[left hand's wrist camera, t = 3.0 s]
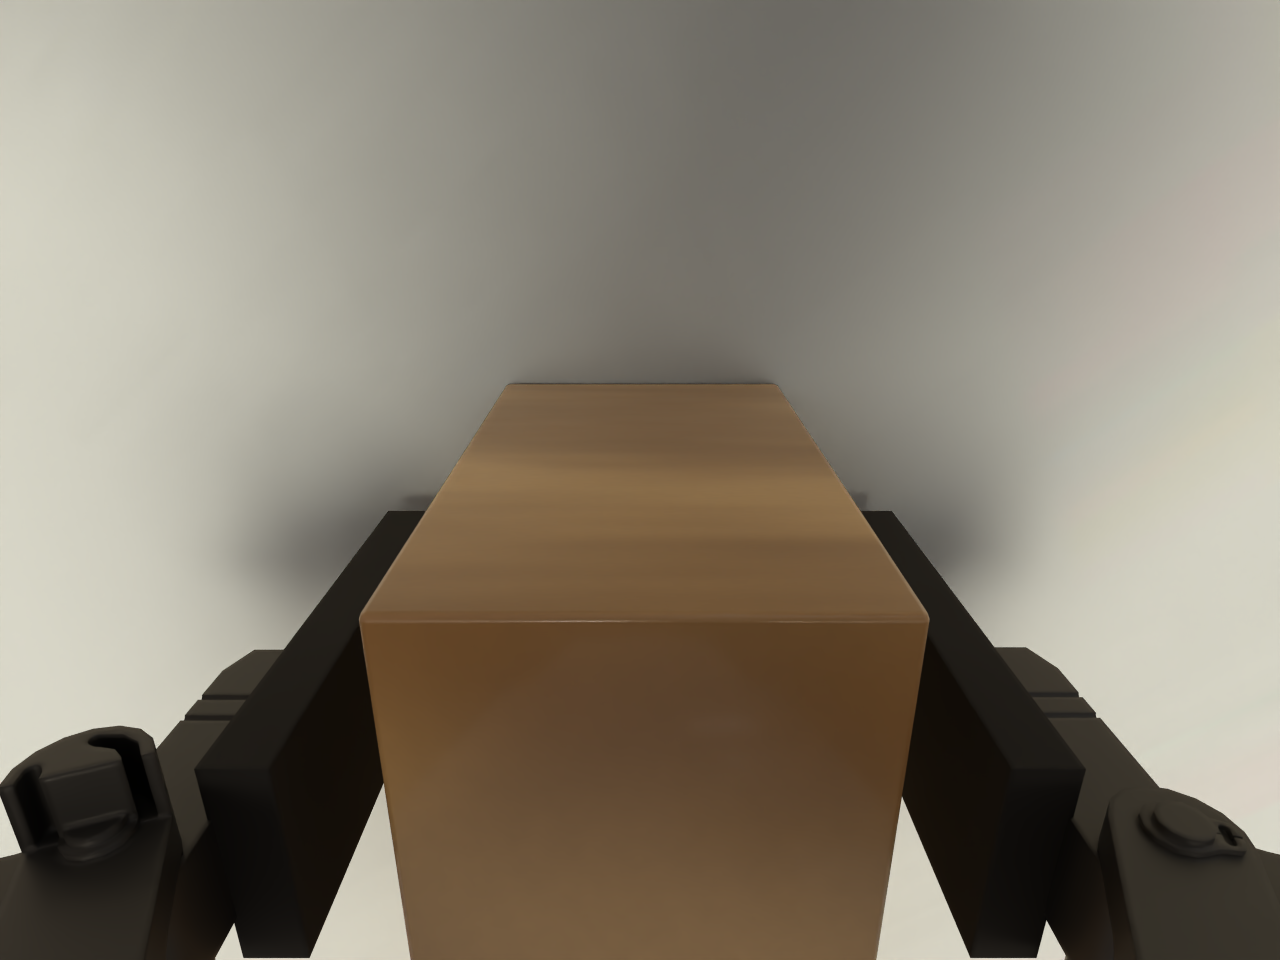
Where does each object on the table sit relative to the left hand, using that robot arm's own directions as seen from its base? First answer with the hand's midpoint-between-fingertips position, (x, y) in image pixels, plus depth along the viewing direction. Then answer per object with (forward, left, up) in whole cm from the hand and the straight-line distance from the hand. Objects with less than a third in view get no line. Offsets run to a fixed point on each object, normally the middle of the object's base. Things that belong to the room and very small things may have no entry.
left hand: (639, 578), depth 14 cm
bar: (+8, +2, -1) cm, 8 cm away
